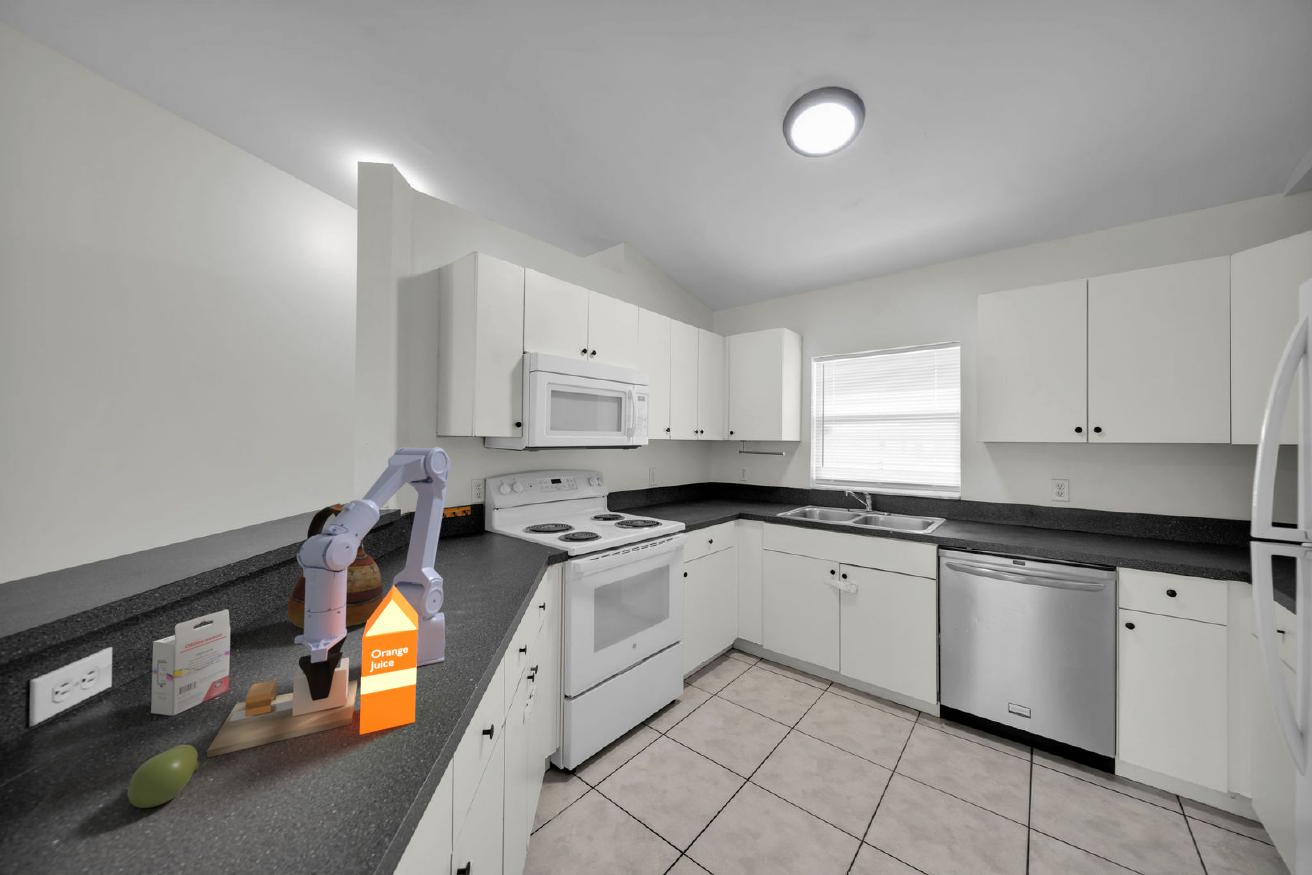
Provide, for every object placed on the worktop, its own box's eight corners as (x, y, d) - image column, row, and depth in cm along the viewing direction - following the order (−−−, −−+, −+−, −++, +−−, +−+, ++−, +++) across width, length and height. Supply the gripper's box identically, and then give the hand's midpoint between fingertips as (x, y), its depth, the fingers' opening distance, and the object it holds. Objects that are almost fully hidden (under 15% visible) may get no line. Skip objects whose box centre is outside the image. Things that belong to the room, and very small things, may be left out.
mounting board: (357, 685, 86) (357, 680, 86) (351, 723, 74) (351, 717, 74) (236, 709, 78) (236, 703, 78) (207, 757, 66) (207, 750, 66)
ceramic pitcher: (350, 640, 107) (354, 508, 108) (263, 639, 107) (268, 508, 108) (398, 611, 126) (401, 500, 128) (325, 610, 127) (328, 499, 128)
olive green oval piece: (120, 772, 54) (155, 742, 63) (114, 824, 53) (151, 786, 62) (185, 756, 57) (211, 729, 66) (181, 805, 56) (208, 771, 65)
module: (347, 691, 82) (349, 653, 82) (345, 704, 77) (346, 665, 77) (298, 701, 78) (299, 662, 78) (292, 716, 74) (293, 675, 74)
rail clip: (276, 698, 77) (277, 679, 77) (270, 711, 73) (270, 692, 73) (252, 703, 75) (253, 684, 75) (245, 716, 71) (245, 696, 71)
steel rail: (348, 694, 81) (348, 688, 81) (347, 702, 78) (347, 696, 78) (234, 718, 73) (234, 711, 73) (228, 728, 71) (229, 721, 71)
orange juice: (358, 735, 71) (362, 602, 72) (364, 706, 79) (367, 587, 80) (416, 721, 75) (419, 595, 75) (416, 696, 82) (418, 581, 83)
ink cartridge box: (207, 688, 85) (211, 606, 85) (229, 691, 84) (232, 608, 84) (148, 713, 76) (152, 622, 77) (171, 717, 75) (175, 624, 76)
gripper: (303, 598, 83) (300, 676, 82) (287, 624, 70) (284, 717, 70) (350, 592, 86) (348, 667, 86) (343, 617, 74) (340, 704, 73)
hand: (323, 689), depth 78 cm, fingers open, 6 cm apart
